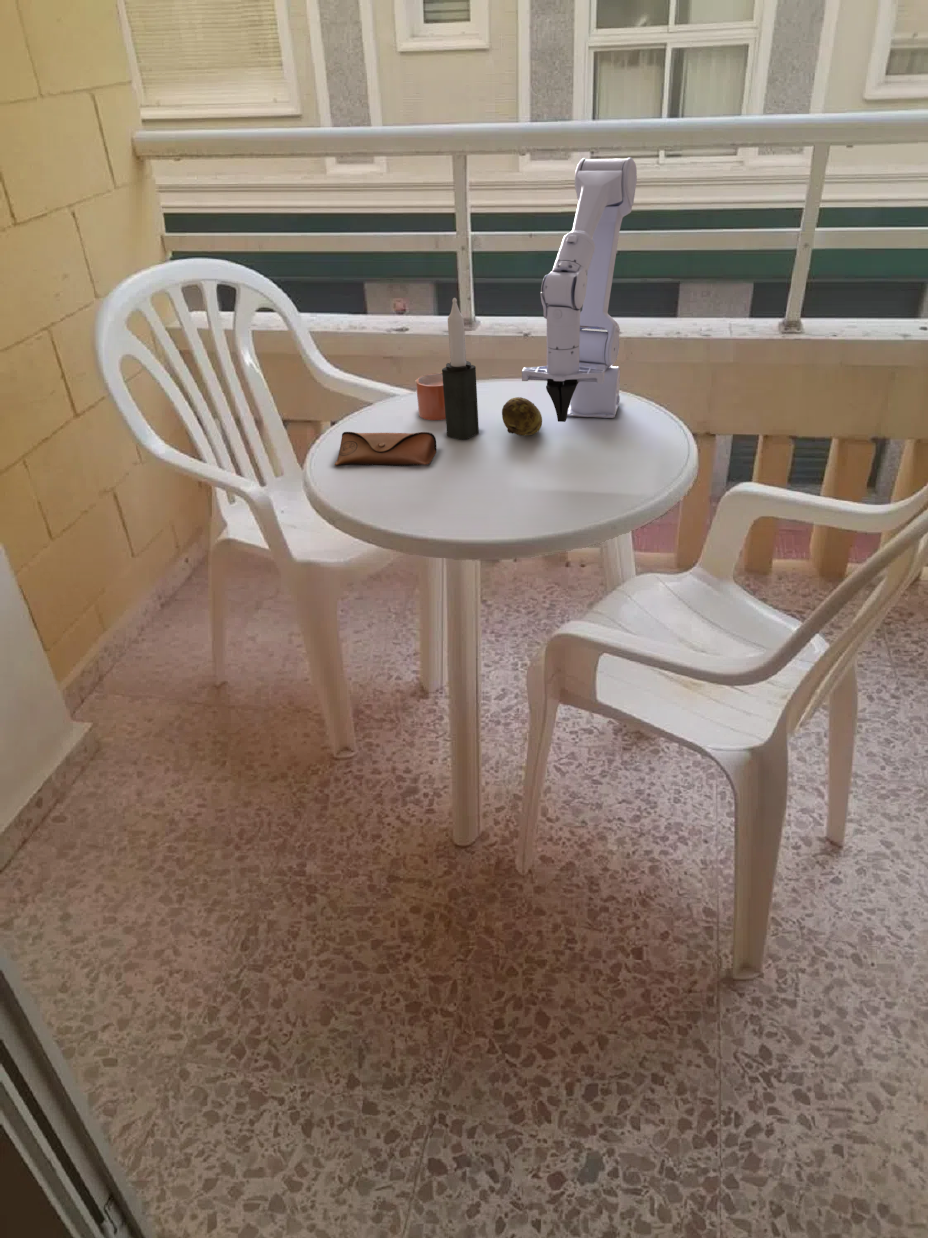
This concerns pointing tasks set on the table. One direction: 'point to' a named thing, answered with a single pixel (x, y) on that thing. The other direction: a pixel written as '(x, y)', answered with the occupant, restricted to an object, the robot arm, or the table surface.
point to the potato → (521, 417)
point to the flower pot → (431, 396)
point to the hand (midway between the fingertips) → (562, 419)
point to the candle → (459, 383)
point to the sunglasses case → (387, 449)
